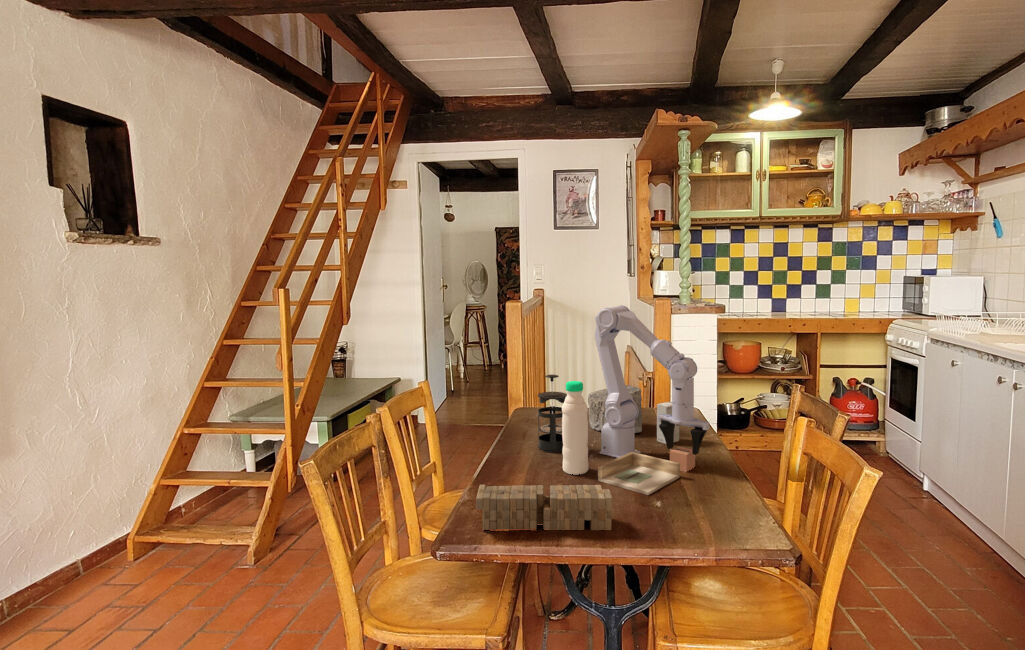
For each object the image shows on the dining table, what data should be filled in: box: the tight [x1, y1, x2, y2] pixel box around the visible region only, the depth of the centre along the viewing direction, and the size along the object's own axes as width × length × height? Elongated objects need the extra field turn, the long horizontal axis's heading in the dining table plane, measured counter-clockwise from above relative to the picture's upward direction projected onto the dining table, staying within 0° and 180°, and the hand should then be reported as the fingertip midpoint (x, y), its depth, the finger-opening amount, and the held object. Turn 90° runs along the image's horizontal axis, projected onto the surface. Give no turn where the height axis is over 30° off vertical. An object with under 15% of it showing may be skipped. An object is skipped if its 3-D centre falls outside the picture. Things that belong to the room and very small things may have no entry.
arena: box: [597, 452, 681, 496], centre depth 158 cm, size 15×16×4 cm
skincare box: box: [656, 401, 680, 445], centre depth 189 cm, size 6×4×12 cm
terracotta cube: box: [669, 446, 696, 473], centre depth 166 cm, size 5×5×5 cm
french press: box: [537, 374, 567, 453], centre depth 185 cm, size 12×9×23 cm
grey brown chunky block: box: [587, 384, 643, 434], centre depth 205 cm, size 19×17×15 cm
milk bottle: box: [561, 380, 589, 476], centre depth 164 cm, size 7×7×25 cm
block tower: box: [475, 484, 613, 531], centre depth 133 cm, size 8×8×29 cm
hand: (682, 450), depth 166 cm, fingers open, 7 cm apart
